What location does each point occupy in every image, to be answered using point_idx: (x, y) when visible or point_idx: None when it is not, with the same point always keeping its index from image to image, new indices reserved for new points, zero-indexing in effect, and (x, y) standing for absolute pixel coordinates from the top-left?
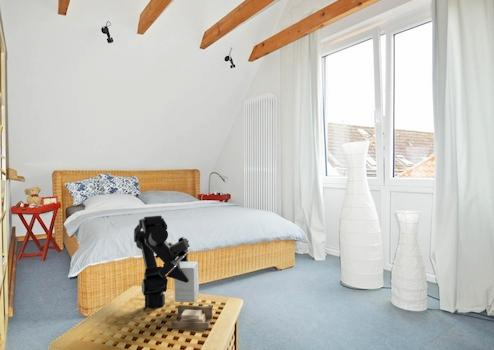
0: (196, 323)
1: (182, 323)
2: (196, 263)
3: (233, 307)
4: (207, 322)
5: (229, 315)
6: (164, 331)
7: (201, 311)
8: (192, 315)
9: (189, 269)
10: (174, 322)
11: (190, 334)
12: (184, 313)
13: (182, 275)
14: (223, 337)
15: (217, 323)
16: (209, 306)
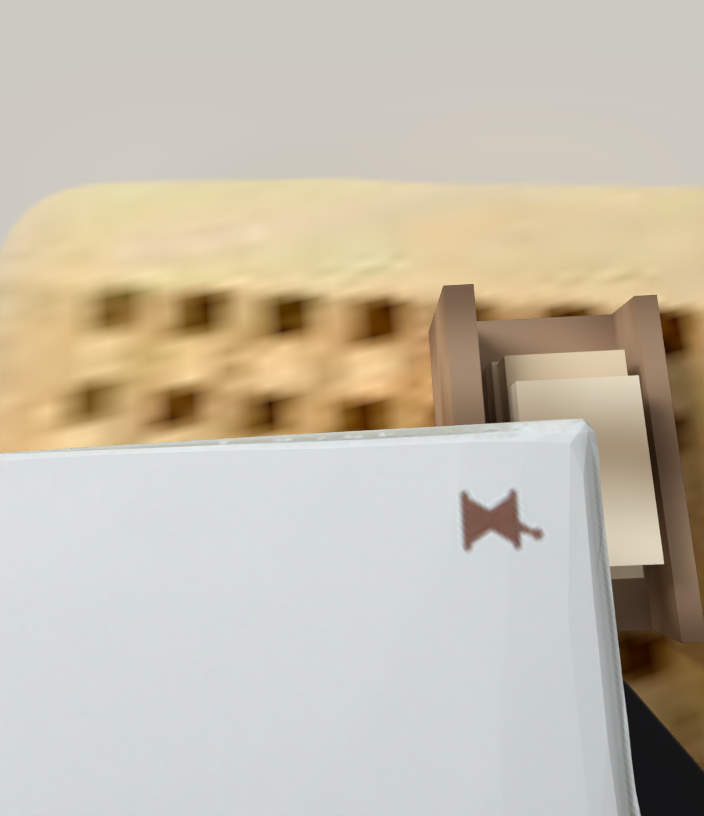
0: (667, 397)
1: (683, 531)
2: (33, 462)
3: (188, 210)
4: (642, 301)
5: (332, 216)
6: (680, 692)
7: (519, 383)
8: (647, 442)
9: (595, 595)
10: (699, 614)
11: (679, 448)
12: (623, 540)
13: (684, 769)
14: (668, 195)
15: (474, 280)
16: (450, 312)
